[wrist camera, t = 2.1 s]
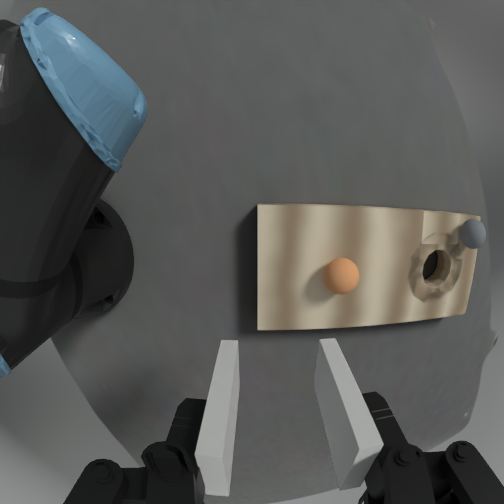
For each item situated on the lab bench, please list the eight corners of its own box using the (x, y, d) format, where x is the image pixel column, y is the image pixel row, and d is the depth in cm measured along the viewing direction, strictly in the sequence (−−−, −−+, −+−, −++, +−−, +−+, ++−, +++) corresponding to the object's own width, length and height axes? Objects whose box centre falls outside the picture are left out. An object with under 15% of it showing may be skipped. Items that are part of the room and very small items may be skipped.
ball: (319, 287, 28) (326, 300, 24) (321, 254, 27) (329, 263, 24) (351, 286, 28) (362, 299, 24) (354, 254, 27) (366, 262, 24)
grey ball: (453, 245, 26) (471, 252, 23) (455, 216, 26) (474, 219, 22) (471, 245, 26) (489, 252, 23) (474, 217, 26) (492, 221, 22)
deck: (257, 317, 32) (257, 330, 29) (257, 203, 29) (257, 204, 26) (453, 305, 31) (464, 313, 28) (466, 213, 28) (480, 216, 26)
